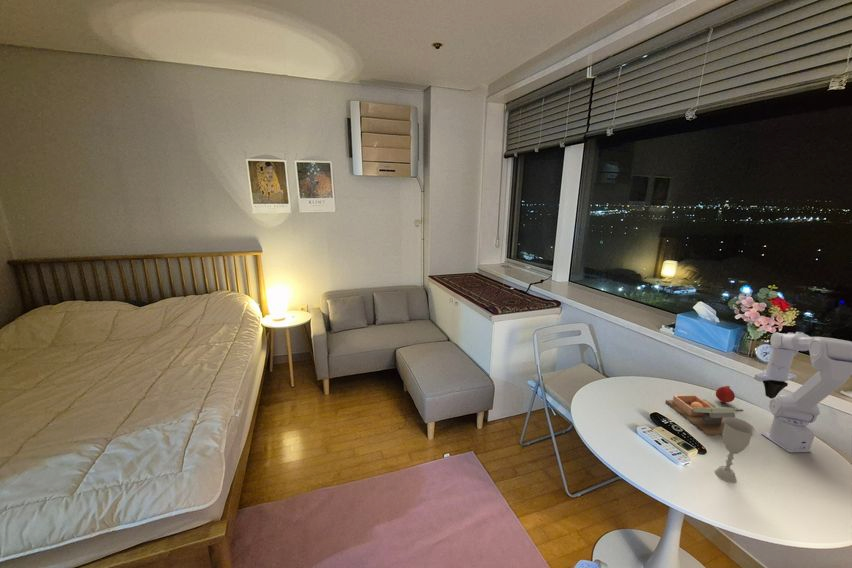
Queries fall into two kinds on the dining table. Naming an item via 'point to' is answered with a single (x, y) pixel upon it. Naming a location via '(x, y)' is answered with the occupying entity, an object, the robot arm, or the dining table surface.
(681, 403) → the orange open box
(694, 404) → the ball
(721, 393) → the onion
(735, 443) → the chalice
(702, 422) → the base board
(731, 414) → the tipping tray
